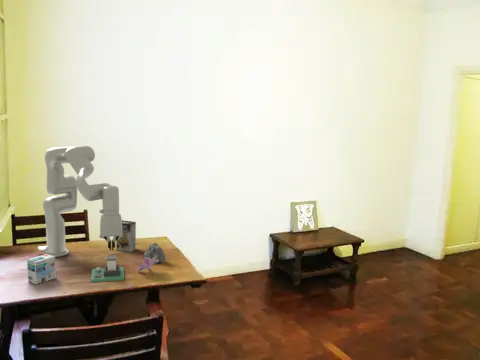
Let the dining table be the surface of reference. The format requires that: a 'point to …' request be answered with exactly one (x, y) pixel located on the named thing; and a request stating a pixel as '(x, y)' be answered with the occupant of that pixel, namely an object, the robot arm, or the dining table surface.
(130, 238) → the coffee box
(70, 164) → the robot arm
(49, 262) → the light bulb box
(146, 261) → the lily
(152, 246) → the mineral rock
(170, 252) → the dining table surface
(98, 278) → the board
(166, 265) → the dining table surface
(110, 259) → the plug
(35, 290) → the dining table surface
